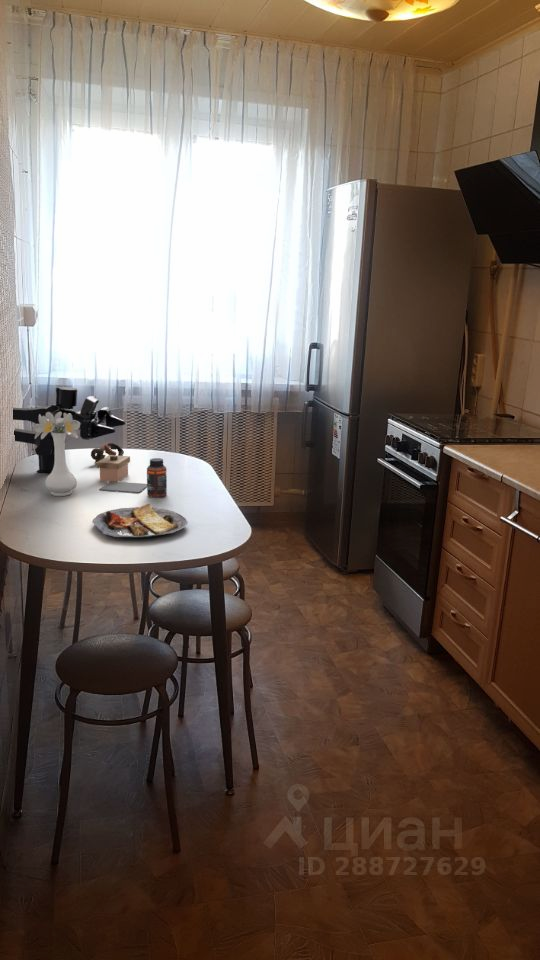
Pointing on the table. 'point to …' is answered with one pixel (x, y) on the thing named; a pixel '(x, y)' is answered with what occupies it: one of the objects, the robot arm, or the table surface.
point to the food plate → (139, 521)
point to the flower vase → (59, 451)
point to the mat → (124, 487)
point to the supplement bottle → (156, 478)
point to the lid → (113, 462)
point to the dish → (113, 473)
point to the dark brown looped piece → (106, 451)
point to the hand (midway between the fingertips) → (120, 426)
